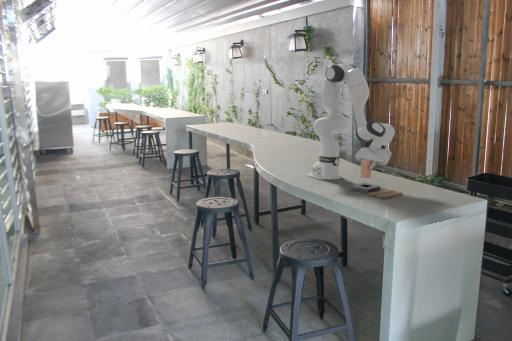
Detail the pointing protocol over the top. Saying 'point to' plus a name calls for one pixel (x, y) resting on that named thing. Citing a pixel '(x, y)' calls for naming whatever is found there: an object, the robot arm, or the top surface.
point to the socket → (365, 188)
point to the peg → (365, 168)
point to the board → (385, 193)
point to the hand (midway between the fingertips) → (365, 167)
